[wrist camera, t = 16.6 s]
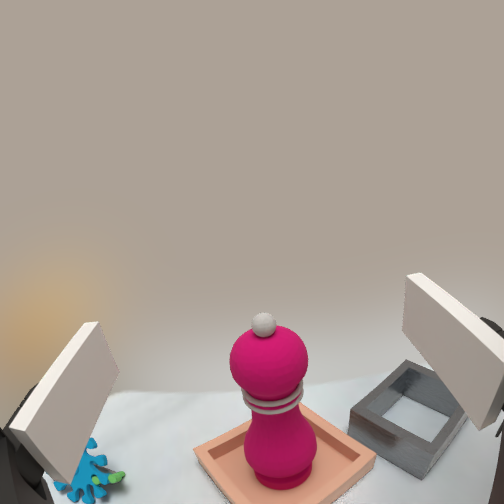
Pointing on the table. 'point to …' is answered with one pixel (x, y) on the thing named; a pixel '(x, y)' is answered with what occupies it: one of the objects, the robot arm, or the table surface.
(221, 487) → the terracotta tray
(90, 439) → the blue bumpy piece
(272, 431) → the pepper mill
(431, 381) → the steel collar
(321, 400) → the table surface
